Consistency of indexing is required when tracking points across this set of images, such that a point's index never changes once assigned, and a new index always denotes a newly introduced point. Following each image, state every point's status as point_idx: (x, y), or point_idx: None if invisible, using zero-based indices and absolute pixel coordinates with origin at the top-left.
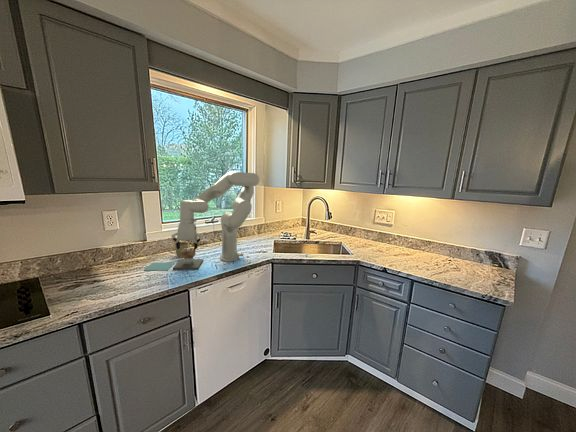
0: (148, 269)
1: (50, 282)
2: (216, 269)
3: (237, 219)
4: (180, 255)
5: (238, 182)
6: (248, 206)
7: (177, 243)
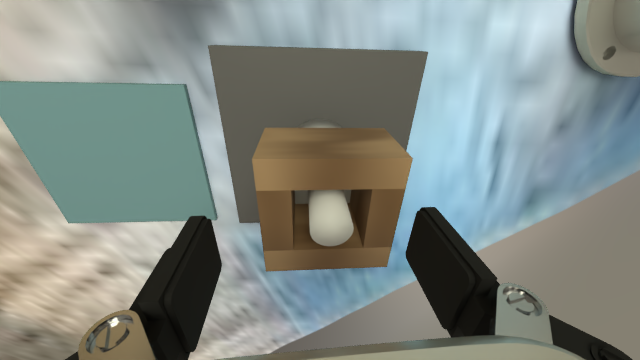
0: (88, 213)
1: None
2: (486, 203)
3: None
4: None
5: None
6: None
7: (180, 354)
